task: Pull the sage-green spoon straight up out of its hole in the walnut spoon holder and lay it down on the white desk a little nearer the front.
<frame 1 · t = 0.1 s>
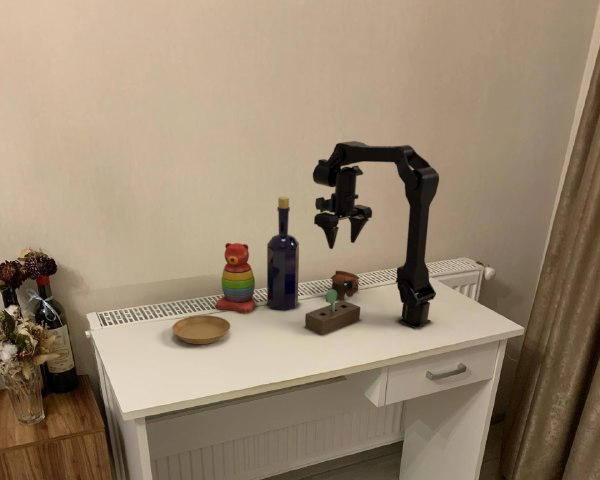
hand: (341, 245, 178), 15 cm above the table, tool pointing down, fingers open, 9 cm apart
pottery mug: (344, 296, 184), on the table
stacking bear: (238, 305, 176), on the table
plant saucer: (202, 336, 157), on the table
spoon: (332, 323, 166), resting in holder
holder: (332, 323, 166), on the table
bottle: (282, 305, 177), on the table
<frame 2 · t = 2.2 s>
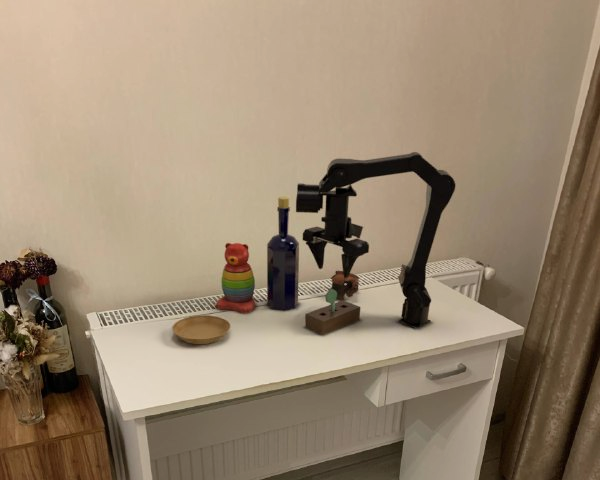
hand: (333, 273, 161), 13 cm above the table, tool pointing down, fingers open, 9 cm apart
nothing on the table moved.
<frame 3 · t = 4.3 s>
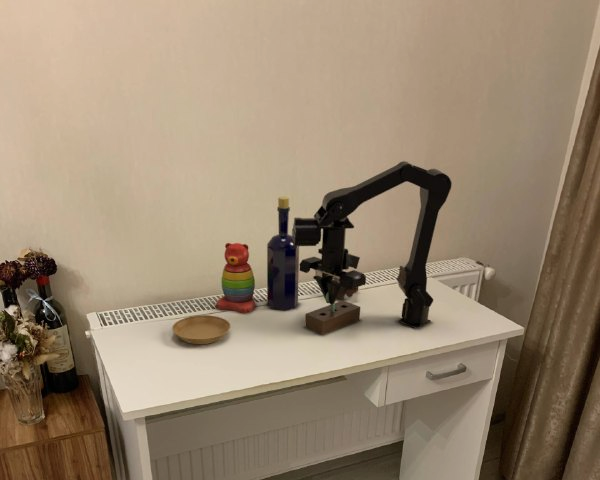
hand: (330, 303, 162), 6 cm above the table, tool pointing down, fingers closed on spoon, 1 cm apart
spoon: (332, 323, 166), resting in holder, touching gripper
everything else where it was.
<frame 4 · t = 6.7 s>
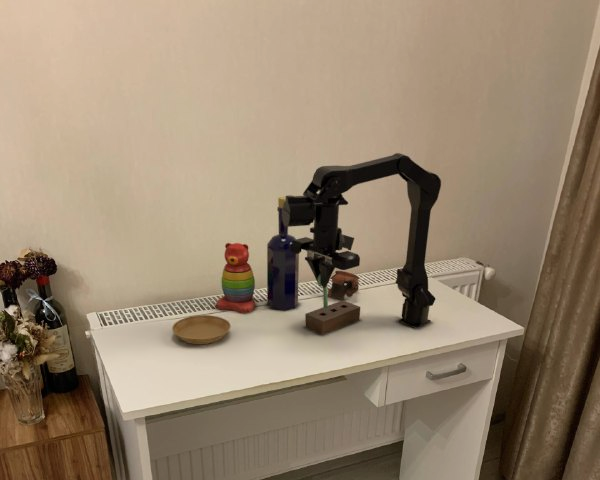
hand: (322, 286, 153), 13 cm above the table, tool pointing down, fingers closed on spoon
spoon: (325, 308, 157), point 7 cm above the table, tilted 5°, touching gripper
everything else where it was.
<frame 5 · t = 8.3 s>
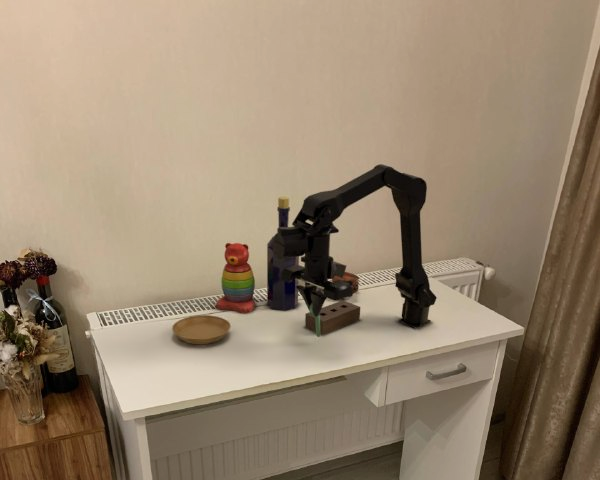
hand: (314, 315, 150), 8 cm above the table, tool pointing down, fingers closed on spoon, 1 cm apart
spoon: (318, 336, 154), point 2 cm above the table, tilted 6°, touching gripper
everything else where it was.
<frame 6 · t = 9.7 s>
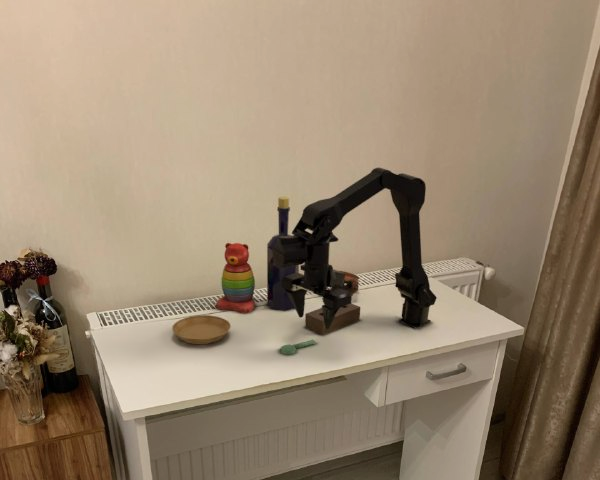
hand: (314, 322, 151), 6 cm above the table, tool pointing down, fingers open, 9 cm apart
spoon: (314, 341, 155), point 1 cm above the table, tilted 90°
everything else where it was.
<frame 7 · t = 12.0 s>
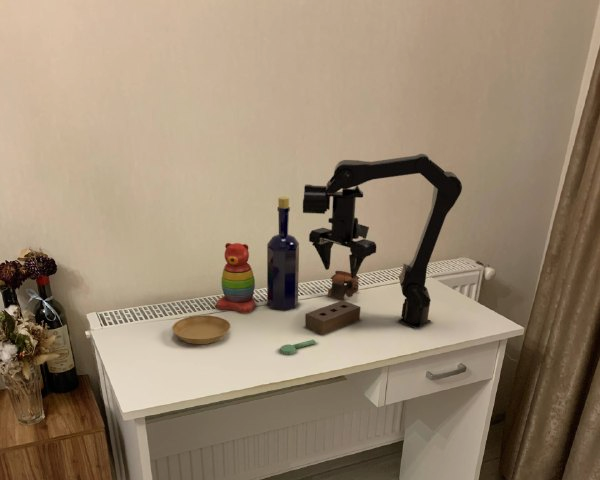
hand: (340, 273, 162), 13 cm above the table, tool pointing down, fingers open, 9 cm apart
nothing on the table moved.
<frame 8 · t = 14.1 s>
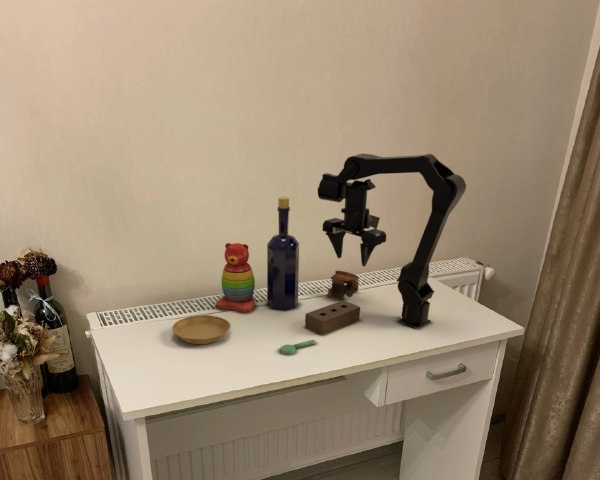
hand: (351, 262, 170), 13 cm above the table, tool pointing down, fingers open, 9 cm apart
nothing on the table moved.
at the end: spoon inside the target area (1.0 cm from its centre), point 0.6 cm above the table; spoon tilted 90°; spoon touching table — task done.
